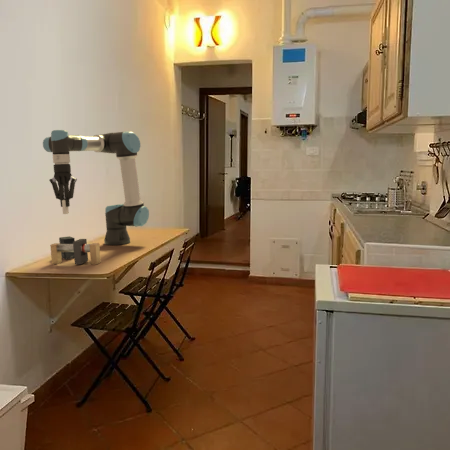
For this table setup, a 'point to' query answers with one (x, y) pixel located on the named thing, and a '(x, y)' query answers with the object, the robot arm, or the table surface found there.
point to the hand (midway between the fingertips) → (65, 213)
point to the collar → (79, 251)
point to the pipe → (59, 248)
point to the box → (67, 241)
